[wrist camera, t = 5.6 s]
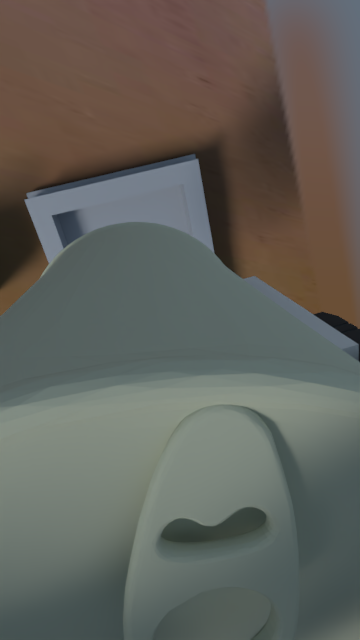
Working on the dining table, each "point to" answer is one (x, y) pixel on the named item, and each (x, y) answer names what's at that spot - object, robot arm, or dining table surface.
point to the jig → (123, 203)
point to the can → (173, 453)
